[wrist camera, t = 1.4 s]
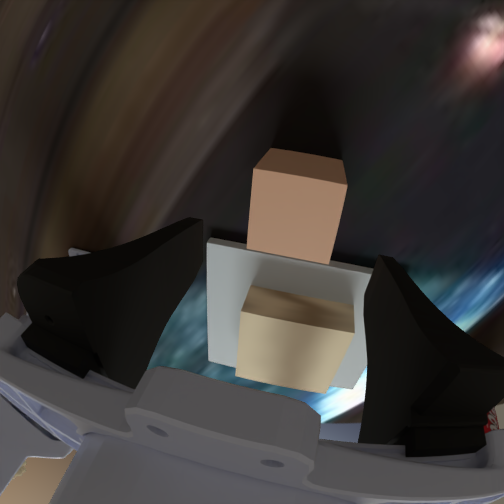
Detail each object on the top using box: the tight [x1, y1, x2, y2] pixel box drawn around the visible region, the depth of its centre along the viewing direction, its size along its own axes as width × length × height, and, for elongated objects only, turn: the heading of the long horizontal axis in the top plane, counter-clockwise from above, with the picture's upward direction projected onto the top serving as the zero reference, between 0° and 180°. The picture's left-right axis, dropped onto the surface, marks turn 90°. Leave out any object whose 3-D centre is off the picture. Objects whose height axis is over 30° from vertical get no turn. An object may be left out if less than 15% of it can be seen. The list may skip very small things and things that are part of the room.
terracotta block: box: [247, 148, 347, 264], centre depth 17 cm, size 4×4×5 cm
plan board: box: [207, 238, 373, 389], centre depth 25 cm, size 15×14×1 cm
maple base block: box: [236, 285, 355, 394], centre depth 23 cm, size 8×8×3 cm
